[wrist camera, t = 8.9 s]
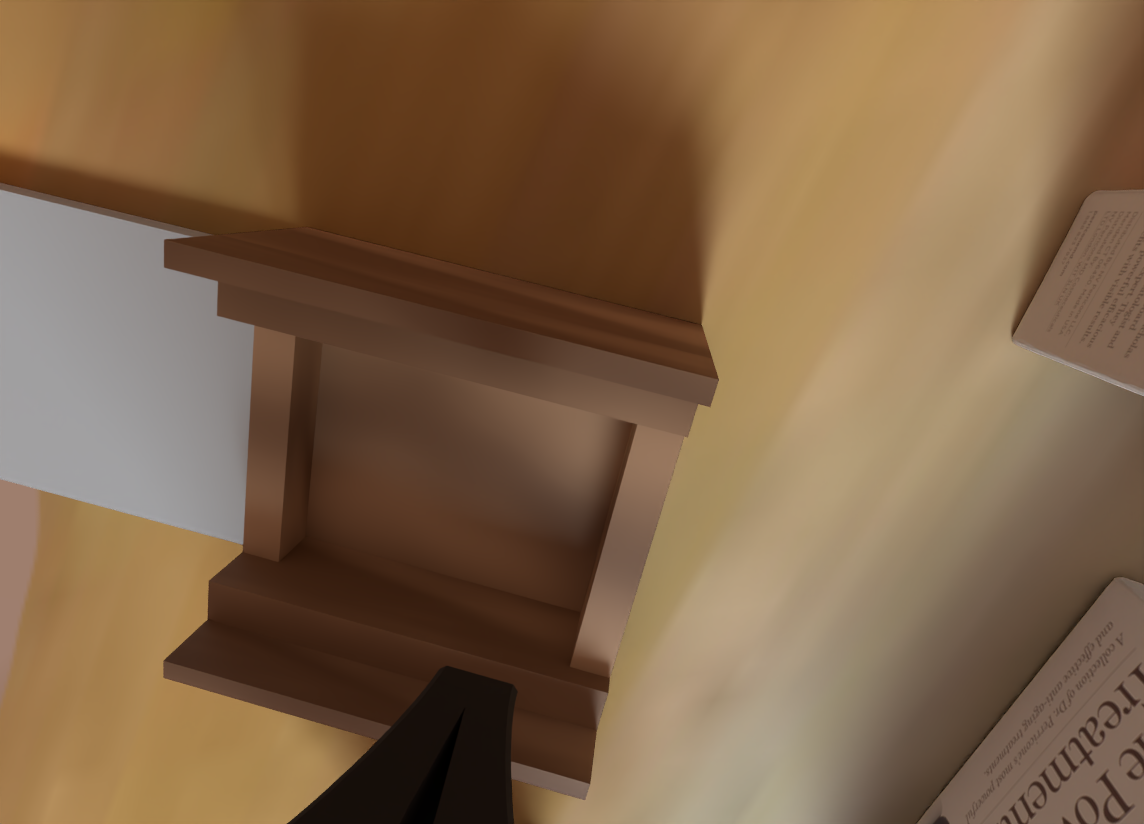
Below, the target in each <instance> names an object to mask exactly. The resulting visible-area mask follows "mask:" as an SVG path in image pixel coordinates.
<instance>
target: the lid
mask: <svg viewBox="0 0 1144 824" xmlns="http://www.w3.org/2000/svg"><path fill="white" fill-rule="evenodd" d="M210 235H212V234H208V233H204V232H200V231H195V230H191V229H187V228H183V227H179V226H175V225H171V224H167V223H163V222H159V221H155V220H151V219H147V218H142V217H138V216H134V215H130V214H126V213H122V212H118V211H114V210H110V209H106V208H102V207H98V206H93V205H89V204H85V203H81V202H77V201H73V200H69V199H65V198H61V197H57V196H53V195H49V194H44V193H40V192H36V191H32V190H28V189H24V188H20V187H16V186H12V185H8V184H4V183H0V479H2V480H5V481H9V482H13V483H17V484H21V485H24V486H28V487H31V488H35V489H39V490H42V491H46V492H50V493H54V494H57V495H61V496H65V497H68V498H72V499H76V500H79V501H83V502H87V503H91V504H94V505H98V506H102V507H105V508H109V509H113V510H116V511H120V512H124V513H127V514H131V515H135V516H139V517H142V518H146V519H150V520H153V521H157V522H161V523H164V524H168V525H172V526H176V527H179V528H183V529H187V530H190V531H194V532H198V533H201V534H205V535H209V536H213V537H216V538H220V539H224V540H227V541H231V542H235V543H238V544H242V545H243V537H244V517H245V498H246V478H247V459H248V439H249V419H250V400H251V380H252V361H253V341H254V325H250V324H247V323H243V322H239V321H235V320H231V319H227V318H223V317H219V316H217V294H218V281H214V280H210V279H207V278H203V277H199V276H195V275H191V274H187V273H183V272H179V271H175V270H171V269H167V268H164V239H175V238H187V237H198V236H210Z"/></svg>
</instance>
